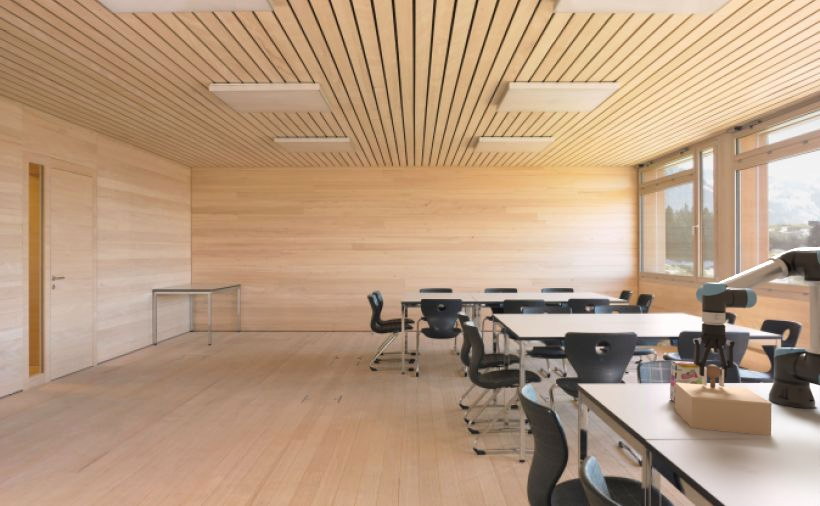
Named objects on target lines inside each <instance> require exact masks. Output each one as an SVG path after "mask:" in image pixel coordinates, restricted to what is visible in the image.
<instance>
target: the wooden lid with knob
mask: <svg viewBox="0 0 820 506" xmlns="http://www.w3.org/2000/svg"><path fill="white" fill-rule="evenodd" d="M705 367H706V368H707V377H709V378H710V380H709V382H710V383H709V384H707V386H704V385H702V384H689V383H676V382H675V385H676V386H677V387H679V388H680V389H681V390H682V391H683V392H684V393H686V394H687V395H688V396H689V397H690V398H691V399H699V400H711V401H723V402H735V403H747V404H759V405H771V407H772V404H773V403H772V402H771V401H770V400H767V399H765V398H764V397H762V396H761V395H759V394H757V393H755V392H753V391H752V390H750V389H749V388H747V387H743V386H742V387H740V386H727V385H726V386H725V385H724V387H721V386H720V385H716V378H719V376H720V374H721V370H720V368H721V367H719V366H718V365H716V364H708V365H707V366H705Z"/></svg>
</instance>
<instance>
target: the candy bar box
mask: <svg viewBox="0 0 820 506" xmlns="http://www.w3.org/2000/svg"><path fill="white" fill-rule="evenodd" d="M675 382H676V383H689V384H702V376H701V375H700V374H699V366H697V365H695V364H694V361H683V360H682V361H681V360H670V382H669V383H670V384H669V385H670V386H669V400H670V399H671V400H670V401H671V402H673V401H674V402H673V403H675ZM702 385H703V384H702Z"/></svg>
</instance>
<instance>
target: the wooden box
mask: <svg viewBox="0 0 820 506" xmlns="http://www.w3.org/2000/svg"><path fill="white" fill-rule="evenodd" d="M674 412H676V413H677V415H679V416H680V418H681V419H682V420H683V419H684V420H685V421H686V422H687V423H686V422H685V421H684V420H683V421H684V422H685V423H686V424H687V425H688V424H689V425H688V426H689V427H690V428H691V429H698V428H699V429H700V430H708V429H709V430H708V431H710V430H711V431H719V430H720V431H721V432H729V431H730V433H739V432H740V433H741V434H752V435H760V436H761V435H762V436H772V406H771V405H759V404H747V403H735V402H723V401H711V400H699V399H691V398H690V397H689V396H688V395H687V394H686V393H684V392H683V391H682V390H681V389H680V388H679V387H677V386H676V385H675V402H674ZM740 433H739V434H740Z"/></svg>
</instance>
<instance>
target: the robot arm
mask: <svg viewBox="0 0 820 506" xmlns="http://www.w3.org/2000/svg"><path fill="white" fill-rule="evenodd" d="M798 276H799V277H802V276H803V279H804V282H805V283H806V284H807V285H808V286H809V289H808V290H809V346H808V347H795V346H794V347H793V346H792V347H790V346H789V347H787V346H786V347H782V346H781V347H780V346H779V347H776V348H775V350H774V356H773V377H774V378H773V383H772V386H771V388H770V390H769V393H768V401H769V402H771V403H772V402H773V403H775V404H777V405H782V406H787V407H792V408H797V409H798V408H799V409H814V408H815V407H816V400H815V398H814V395H813V391H812V390H811V384H813V385H818V386H820V246H817V247H816V246H814V247H813V246H812V247H811V246H810V247H806V246H805V247H803V246H802V247H796V248H793V249H792V248H791V249H789V250H786V251H784V252H781V253H779V254H775V255H774V256H772V257H769V258H768V259H766V261H765V262H764V263H761V264H759V265H757V266H755V267H752V268H750V269H747V270H745V271H743V272H740V273H738V274H735V275H733V276H731V277H728V278H726V279H724V280H721V281H718V282H709V281H707V282H704V283H703V284H702V285H701V286H699V287H698V288H697V290H696V291H695V297H696V300H698V302H700V303H701V306H702V307H701V310H702V311H701V322H702V324H701V335H700V337H698V338H692V343H693V346H694V348H693V362H694V364H695V365H697V366H699V374H700V375H701V376H702V384H703V385H704V386H707V385H708V375H707V368H706V367H707V366H706V364H707V360H708V357H709V354H710V351H711V349H716V352H717V355H718V360H719V363H720V366H721V367H719V368H720V370H721V374H720V376H719V377H718V386H721V387H724V386H725V378H727V376H728V370H729V369H732V368H733V367H734V346H735V344H736V343H735V341H733V340H729V339H727V337H726V325H725V324H726V310H727V309H741V308H742V309H750V308H753V307H754V306H756V304H757V301H758V297H757V293H756V292H755V290H753V289H755V288H757V287H760V286H762V285H765V284H767V283H770V282H772V281H774V280H777V279H778V280H783V279H787V278H789V277H798ZM701 342H702V343H703V350H702V354H701ZM724 345H726V357H725V354H724V349H723V346H724ZM700 354H701V356H700Z"/></svg>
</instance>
